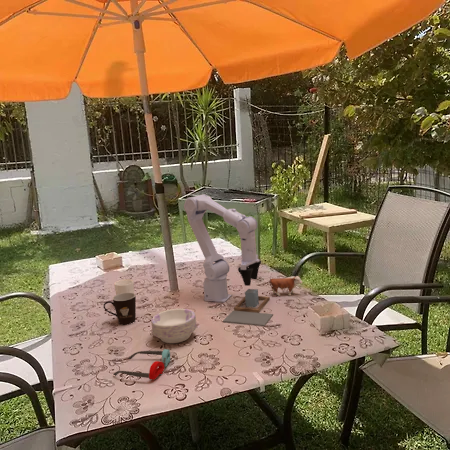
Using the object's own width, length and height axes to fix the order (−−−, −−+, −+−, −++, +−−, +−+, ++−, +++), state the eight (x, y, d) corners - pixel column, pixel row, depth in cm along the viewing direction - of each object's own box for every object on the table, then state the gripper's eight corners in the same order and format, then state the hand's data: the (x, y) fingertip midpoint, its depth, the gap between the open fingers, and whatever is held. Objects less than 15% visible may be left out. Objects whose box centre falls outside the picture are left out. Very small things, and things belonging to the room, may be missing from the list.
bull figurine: (302, 296, 192) (301, 277, 190) (269, 296, 194) (268, 277, 193) (303, 292, 196) (302, 274, 194) (270, 292, 199) (269, 274, 197)
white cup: (139, 303, 197) (137, 281, 195) (124, 310, 192) (121, 286, 190) (128, 300, 203) (126, 278, 201) (113, 306, 197) (110, 283, 195)
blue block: (245, 306, 186) (244, 292, 184) (249, 302, 189) (248, 288, 188) (255, 307, 184) (254, 292, 183) (258, 303, 188) (257, 289, 186)
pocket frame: (234, 310, 182) (233, 307, 182) (246, 297, 195) (246, 295, 194) (258, 312, 178) (258, 309, 178) (269, 299, 191) (269, 296, 191)
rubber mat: (222, 322, 172) (222, 320, 172) (233, 311, 181) (233, 310, 181) (264, 326, 166) (264, 324, 166) (273, 315, 175) (272, 314, 175)
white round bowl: (148, 334, 166) (146, 313, 165) (189, 325, 172) (187, 304, 171) (160, 352, 153) (157, 329, 151) (203, 340, 158) (201, 318, 157)
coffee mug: (142, 317, 182) (139, 293, 180) (131, 326, 174) (128, 301, 172) (116, 315, 186) (113, 291, 184) (104, 324, 178) (101, 299, 176)
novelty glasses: (157, 384, 134) (155, 368, 133) (110, 380, 138) (108, 365, 137) (174, 360, 147) (173, 346, 146) (131, 357, 151) (129, 343, 150)
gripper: (252, 254, 174) (254, 288, 176) (264, 244, 187) (266, 276, 189) (234, 253, 177) (236, 287, 179) (247, 243, 190) (249, 275, 192)
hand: (250, 282), depth 185 cm, fingers open, 7 cm apart
